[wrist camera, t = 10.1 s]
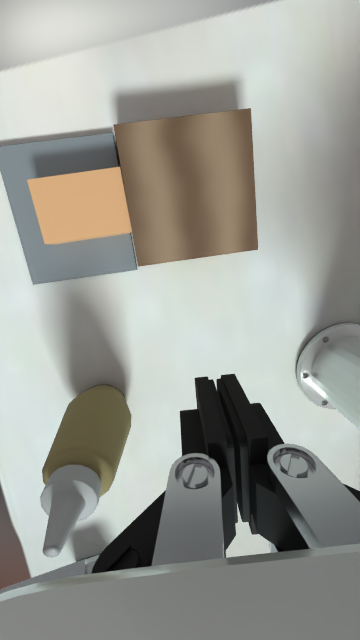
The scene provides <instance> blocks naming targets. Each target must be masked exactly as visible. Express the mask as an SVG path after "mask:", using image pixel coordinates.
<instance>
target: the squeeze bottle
mask: <svg viewBox="0 0 360 640" xmlns="http://www.w3.org/2000/svg"><path fill="white" fill-rule="evenodd" d="M130 428H131V413H130V411H129V408H128V405H127V403H126V400H125V398H124V396H123V394H122V393H121V392H120V391H119V390H118V389H117V388H114V387H112V386H109V385H98V386H95V387H92V388H90V389H88V390H87V391H85V392H83V393H82V394H80V395H78V396H77V397H76V398H75V399H74V400H73V401H72V402H70V403H69V405H68V407H67V409H66V412H65V414H64V416H63V419H62V422H61V424H60V427H59V429H58V432H57V434H56V437H55V439H54V442H53V444H52V447H51V449H50V452H49V454H48V457H47V459H46V462H45V464H44V467H43V469H42V473H43V482H44V483H45V485H46V486H45V488H44V490H43V492H42V495H41V497H40V498H41V506H42V508H43V509H44V511H45V512H46V514H47V515H49V519H48V525H47V530H46V536H45V541H44V547H43V553H44V555H46V556H47V557H56V556H58V555H59V554H60V552H61V550H62V548H63V546H64V544H65V542H66V540H67V539H68V537H69V535H70V533H71V531H72V529H73V527H74V526H75V524H76V522H78V521H81V520H83V519H86V518H87V517H89V516H90V515H91V514H92V513H94V511H95V509H96V507H97V505H98V501H99V498H100V497H101V496H102V495H103V494H105V493H106V492H107V491H108V490H109V488H110V486H111V485H112V483H113V481H114V478H115V475H116V472H117V468H118V465H119V462H120V459H121V456H122V453H123V450H124V446H125V443H126V440H127V437H128V434H129V431H130Z"/></svg>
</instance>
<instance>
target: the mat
mask: <svg viewBox="0 0 360 640" xmlns="http://www.w3.org/2000/svg"><path fill="white" fill-rule="evenodd" d="M114 167H119V164H118V159H117V153H116V147H115V141H114V136H113V133H106V134H98V135H89V136H81V137H73V138H64V139H56V140H48V141H40V142H31V143H23V144H15V145H6V146H0V171H1V175H2V178H3V182H4V185H5V188H6V192H7V195H8V199H9V202H10V206H11V209H12V213H13V216H14V220H15V223H16V227H17V230H18V234H19V237H20V241H21V244H22V248H23V251H24V255H25V258H26V262H27V265H28V269H29V272H30V276H31V279H32V283H33V284H41V283H48V282H55V281H62V280H69V279H76V278H83V277H90V276H97V275H104V274H111V273H118V272H125V271H132V270H137V266H136V261H135V255H134V249H133V244H132V238H131V233H127V234H121V235H114V236H107V237H101V238H94V239H87V240H81V241H74V242H67V243H61V244H45V243H44V240H43V236H42V233H41V229H40V225H39V222H38V218H37V214H36V211H35V207H34V204H33V200H32V196H31V193H30V189H29V185H28V182H27V180H28V179H36V178H43V177H50V176H57V175H64V174H71V173H78V172H85V171H93V170H100V169H107V168H114Z"/></svg>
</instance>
